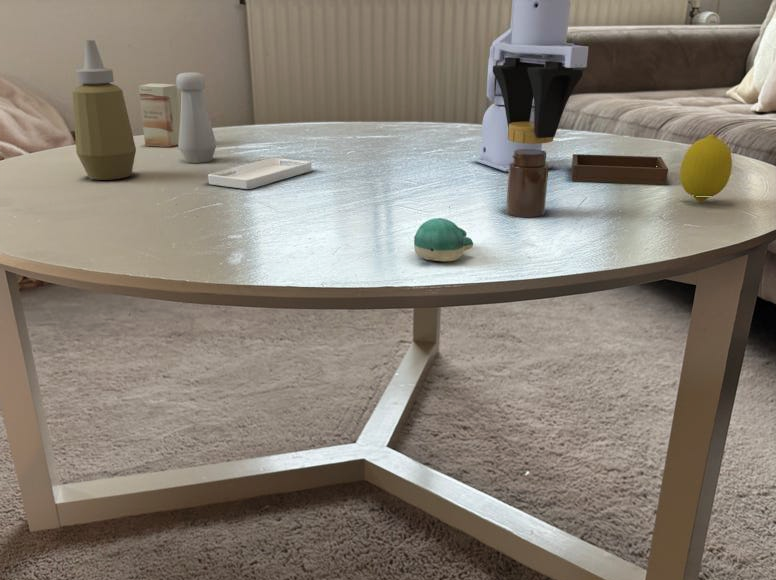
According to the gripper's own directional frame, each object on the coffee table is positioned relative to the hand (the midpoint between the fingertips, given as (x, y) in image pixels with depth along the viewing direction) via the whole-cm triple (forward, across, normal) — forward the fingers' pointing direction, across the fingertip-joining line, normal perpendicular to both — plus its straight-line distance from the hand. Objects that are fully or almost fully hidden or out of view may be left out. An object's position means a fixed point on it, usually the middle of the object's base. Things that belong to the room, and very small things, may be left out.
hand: (531, 133), depth 84 cm
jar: (+9, 0, 0) cm, 9 cm away
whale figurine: (+9, -11, +16) cm, 21 cm away
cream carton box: (+9, +67, +31) cm, 75 cm away
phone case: (+9, +32, +23) cm, 40 cm away
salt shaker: (+9, +49, +28) cm, 58 cm away
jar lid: (-1, 0, 0) cm, 1 cm away
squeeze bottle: (+9, +42, +42) cm, 60 cm away
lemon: (+9, -4, -22) cm, 24 cm away
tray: (+9, +13, -23) cm, 28 cm away
